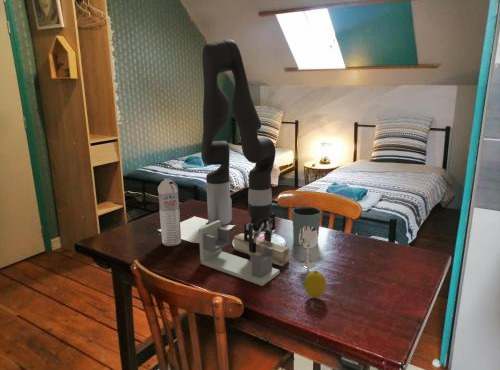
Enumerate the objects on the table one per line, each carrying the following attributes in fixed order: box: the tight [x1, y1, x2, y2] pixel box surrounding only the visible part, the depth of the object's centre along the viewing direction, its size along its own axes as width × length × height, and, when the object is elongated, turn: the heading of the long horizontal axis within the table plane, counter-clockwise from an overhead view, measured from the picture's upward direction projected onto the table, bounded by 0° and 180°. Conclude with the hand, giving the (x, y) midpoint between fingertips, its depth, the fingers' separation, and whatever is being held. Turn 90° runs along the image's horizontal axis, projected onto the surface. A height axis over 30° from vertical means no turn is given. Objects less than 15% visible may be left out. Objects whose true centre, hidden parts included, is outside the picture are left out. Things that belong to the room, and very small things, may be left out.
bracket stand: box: [198, 220, 280, 287], centre depth 120 cm, size 9×24×12 cm, turn 53°
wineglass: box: [299, 226, 319, 269], centre depth 122 cm, size 6×6×12 cm
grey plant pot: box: [291, 205, 322, 248], centre depth 139 cm, size 10×10×12 cm
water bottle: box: [157, 174, 182, 247], centre depth 138 cm, size 7×7×25 cm
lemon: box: [304, 270, 327, 299], centre depth 104 cm, size 6×6×8 cm
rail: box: [233, 233, 290, 267], centre depth 130 cm, size 4×20×5 cm, turn 50°
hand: (260, 247), depth 130 cm, fingers open, 8 cm apart
